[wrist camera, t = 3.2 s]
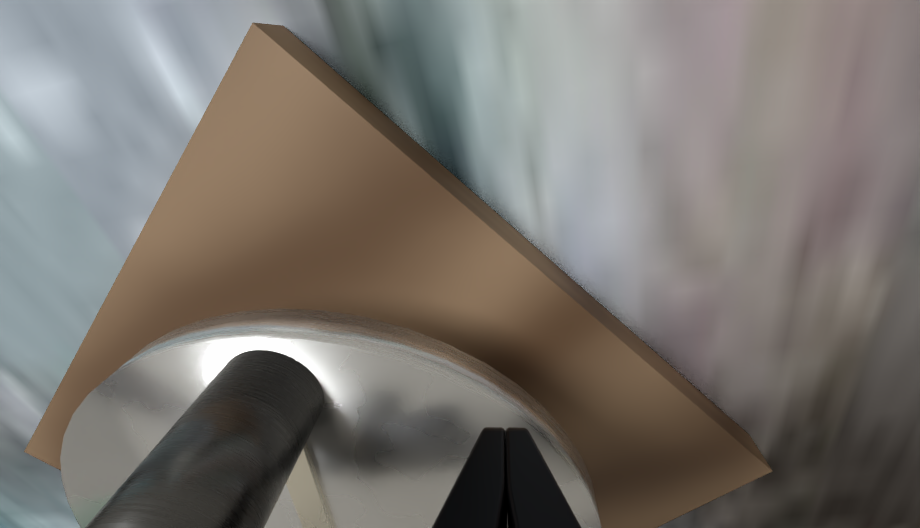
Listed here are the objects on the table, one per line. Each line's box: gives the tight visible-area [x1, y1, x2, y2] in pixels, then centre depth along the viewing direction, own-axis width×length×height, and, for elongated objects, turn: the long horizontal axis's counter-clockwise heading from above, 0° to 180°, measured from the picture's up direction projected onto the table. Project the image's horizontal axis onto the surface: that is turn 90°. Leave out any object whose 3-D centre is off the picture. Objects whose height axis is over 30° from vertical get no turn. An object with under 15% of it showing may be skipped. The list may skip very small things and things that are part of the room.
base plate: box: [24, 23, 772, 528], centre depth 16 cm, size 20×20×2 cm
